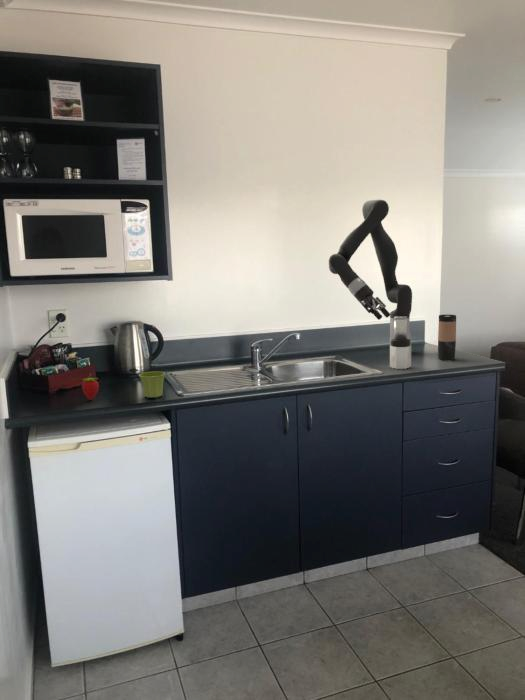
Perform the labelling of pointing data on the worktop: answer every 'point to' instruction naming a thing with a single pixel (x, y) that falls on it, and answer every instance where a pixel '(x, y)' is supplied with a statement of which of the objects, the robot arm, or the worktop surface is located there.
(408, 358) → the jar
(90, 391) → the strawberry
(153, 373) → the plant pot
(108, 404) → the worktop surface
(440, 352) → the travel mug
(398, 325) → the canister
